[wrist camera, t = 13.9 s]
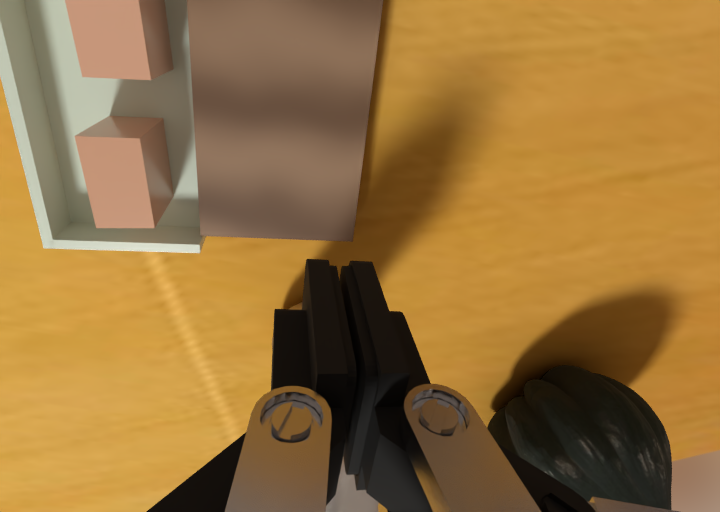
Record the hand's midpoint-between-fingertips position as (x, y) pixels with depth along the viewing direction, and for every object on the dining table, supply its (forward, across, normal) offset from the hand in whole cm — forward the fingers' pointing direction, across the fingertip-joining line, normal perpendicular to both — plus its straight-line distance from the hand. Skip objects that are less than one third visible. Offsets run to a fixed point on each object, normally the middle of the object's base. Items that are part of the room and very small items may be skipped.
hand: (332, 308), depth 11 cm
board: (+20, +1, -2) cm, 20 cm away
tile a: (+17, +8, -5) cm, 19 cm away
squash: (+20, -27, +26) cm, 42 cm away
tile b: (+17, +8, +3) cm, 19 cm away
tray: (+20, +11, -1) cm, 22 cm away
